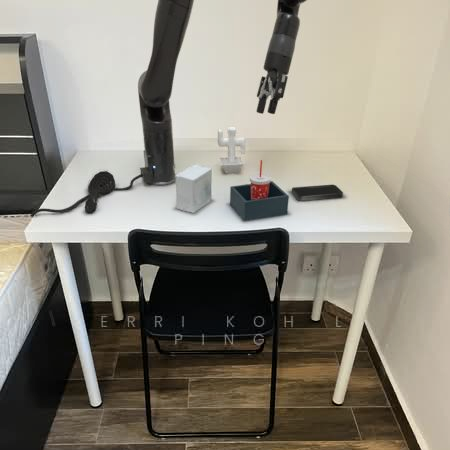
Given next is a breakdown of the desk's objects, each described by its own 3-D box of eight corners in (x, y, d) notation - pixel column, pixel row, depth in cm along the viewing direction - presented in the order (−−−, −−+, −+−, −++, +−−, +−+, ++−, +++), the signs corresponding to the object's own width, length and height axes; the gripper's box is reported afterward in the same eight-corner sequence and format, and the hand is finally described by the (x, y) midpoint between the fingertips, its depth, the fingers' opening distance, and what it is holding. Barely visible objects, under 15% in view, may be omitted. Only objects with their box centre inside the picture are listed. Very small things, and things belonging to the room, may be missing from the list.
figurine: (245, 174, 158) (247, 130, 149) (218, 175, 157) (218, 131, 149) (243, 167, 164) (244, 124, 155) (216, 168, 163) (216, 124, 154)
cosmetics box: (194, 214, 134) (193, 179, 127) (176, 209, 136) (174, 175, 130) (212, 200, 141) (212, 167, 135) (194, 196, 144) (193, 163, 137)
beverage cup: (247, 202, 138) (248, 156, 130) (266, 201, 139) (270, 156, 131) (250, 211, 134) (252, 164, 125) (270, 210, 134) (274, 164, 126)
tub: (244, 221, 130) (244, 202, 127) (229, 204, 139) (230, 186, 136) (287, 214, 134) (289, 195, 131) (270, 198, 143) (272, 180, 139)
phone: (344, 194, 143) (298, 197, 141) (343, 197, 144) (298, 200, 141) (334, 184, 149) (290, 187, 147) (334, 187, 150) (290, 190, 148)
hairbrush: (72, 204, 131) (91, 168, 151) (75, 216, 134) (93, 178, 153) (102, 205, 131) (116, 168, 151) (103, 216, 134) (118, 179, 153)
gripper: (258, 53, 138) (245, 109, 143) (278, 47, 125) (263, 110, 130) (280, 61, 141) (266, 116, 145) (302, 56, 128) (286, 117, 133)
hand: (265, 113), depth 138 cm, fingers open, 8 cm apart
